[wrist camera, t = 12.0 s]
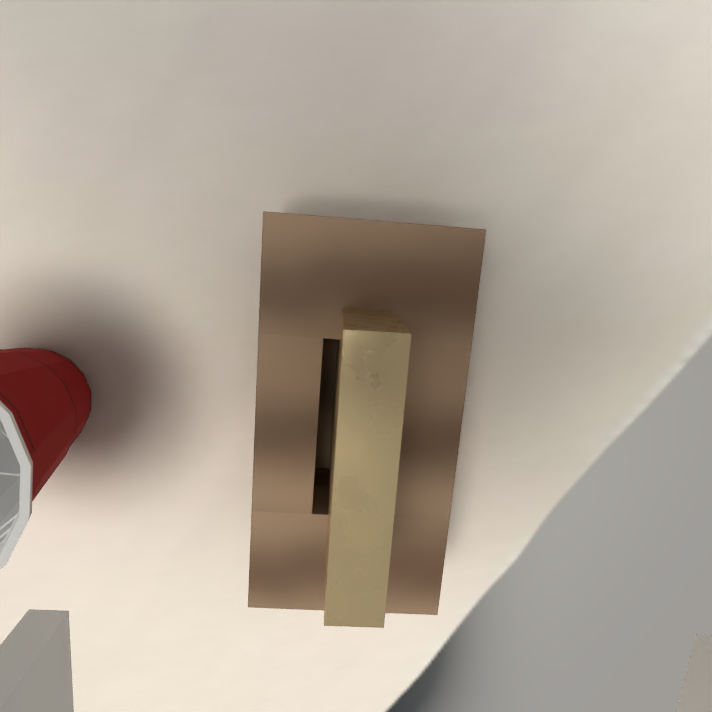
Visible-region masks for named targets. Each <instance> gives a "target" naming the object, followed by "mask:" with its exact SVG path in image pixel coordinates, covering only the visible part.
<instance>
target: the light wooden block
mask: <svg viewBox="0 0 712 712" xmlns="http://www.w3.org/2000/svg"><path fill="white" fill-rule="evenodd" d="M410 344H411V333H410V331H409V330H408V329H407V328H406V326H405V325H404V324H403V323H402V321H401V320H400V319H399V318H398V316H397V315H396V314H395V313H394V311H386V310H370V309H355V308H341V323H340V338H339V340H338V341H337V356H336V372H335V387H334V403H333V418H332V434H331V449H330V481H329V507H328V522H327V538H326V568H325V604H324V626H350V627H380V628H384V619H385V608H386V597H387V587H388V576H389V566H390V555H391V545H392V534H393V523H394V513H395V502H396V492H397V481H398V471H399V460H400V449H401V439H402V428H403V418H404V407H405V397H406V386H407V375H408V365H409V354H410Z"/></svg>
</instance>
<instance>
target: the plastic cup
mask: <svg viewBox="0 0 712 712" xmlns="http://www.w3.org/2000/svg"><path fill="white" fill-rule="evenodd" d="M90 411H91V391H90V388H89V386H88V383H87V381H86V379H85V376H84V374H83V373H82V372H81V371H80V370H79V369H78V368H77V367H76V366H75V365H74V364H73V363H72V361H71V360H69V359H67V358H65V357H63V356H61V355H59V354H57V353H55V352H53V351H48V350H43V349H33V348H15V349H3V350H2V349H0V569H1V568H2V567H3V566H5V565H6V564H7V562H8V560H9V558H10V556H11V554H12V552H13V550H14V548H15V546H16V544H17V542H18V540H19V538H20V536H21V534H22V532H23V530H24V528H25V526H26V524H27V522H28V520H29V518H30V516H31V513H32V501H33V500H34V498H35V497H36V496H37V494H38V493H39V492H40V490H41V489H42V487H43V486H44V485H45V483H46V482H47V480H48V479H49V478H50V476H51V475H52V474H53V472H54V471H55V469H56V468H57V467H58V465H59V464H60V462H61V461H62V460H63V458H64V457H65V456H66V454H67V451H68V449H69V447H70V446H71V444H72V443H73V442H74V440H75V439H76V438H77V436H78V435H79V434H80V433H81V431H82V429H83V427H84V425H85V423H86V420H87V418H88V416H89V413H90Z"/></svg>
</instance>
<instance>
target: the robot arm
mask: <svg viewBox="0 0 712 712" xmlns="http://www.w3.org/2000/svg"><path fill="white" fill-rule="evenodd" d="M0 712H74V709H73V689H72V669H71V649H70V629H69V611H57V610H30V609H29V610H28V612H27V613H26V614H25V615H24V617H23V618H22V619H21V620H20V621H19V623H18V624H17V625H16V626H15V628H14V629H13V630H12V631H11V633H10V634H9V635H8V636H7V638H6V639H5V640H4V641H3V643H2V644H1V645H0ZM676 712H712V635H702V634H696V636H695V640H694V644H693V648H692V652H691V656H690V659H689V663H688V667H687V671H686V675H685V679H684V683H683V687H682V691H681V694H680V698H679V702H678V706H677V710H676Z"/></svg>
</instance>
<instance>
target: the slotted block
mask: <svg viewBox="0 0 712 712" xmlns="http://www.w3.org/2000/svg"><path fill="white" fill-rule="evenodd" d="M485 234H486V229H473V228H461V227H449V226H436V225H424V224H412V223H400V222H387V221H375V220H363V219H350V218H338V217H326V216H314V215H301V214H289V213H277V212H264V211H263V230H262V256H261V282H260V308H259V334H258V360H257V386H256V412H255V437H254V463H253V489H252V515H251V541H250V567H249V593H248V607H255V608H280V609H305V610H324V604H325V568H326V538H327V522H328V507H329V481H330V449H331V434H332V418H333V403H334V387H335V372H336V356H337V341H338V340H339V338H340V323H341V308H355V309H370V310H386V311H394V313H395V314H396V315H397V316H398V318H399V319H400V320H401V321H402V323H403V324H404V325H405V326H406V328H407V329H408V330H409V331H410V333H411V344H410V354H409V365H408V375H407V386H406V397H405V407H404V418H403V428H402V439H401V449H400V460H399V471H398V481H397V492H396V502H395V513H394V523H393V534H392V545H391V555H390V566H389V576H388V587H387V597H386V608H385V613H403V614H428V615H437V614H438V606H439V598H440V590H441V582H442V574H443V566H444V558H445V550H446V543H447V535H448V527H449V519H450V511H451V503H452V495H453V487H454V479H455V471H456V463H457V455H458V448H459V440H460V432H461V424H462V416H463V408H464V400H465V392H466V384H467V376H468V368H469V360H470V352H471V345H472V337H473V329H474V321H475V313H476V305H477V297H478V289H479V281H480V273H481V265H482V257H483V249H484V242H485Z"/></svg>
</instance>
